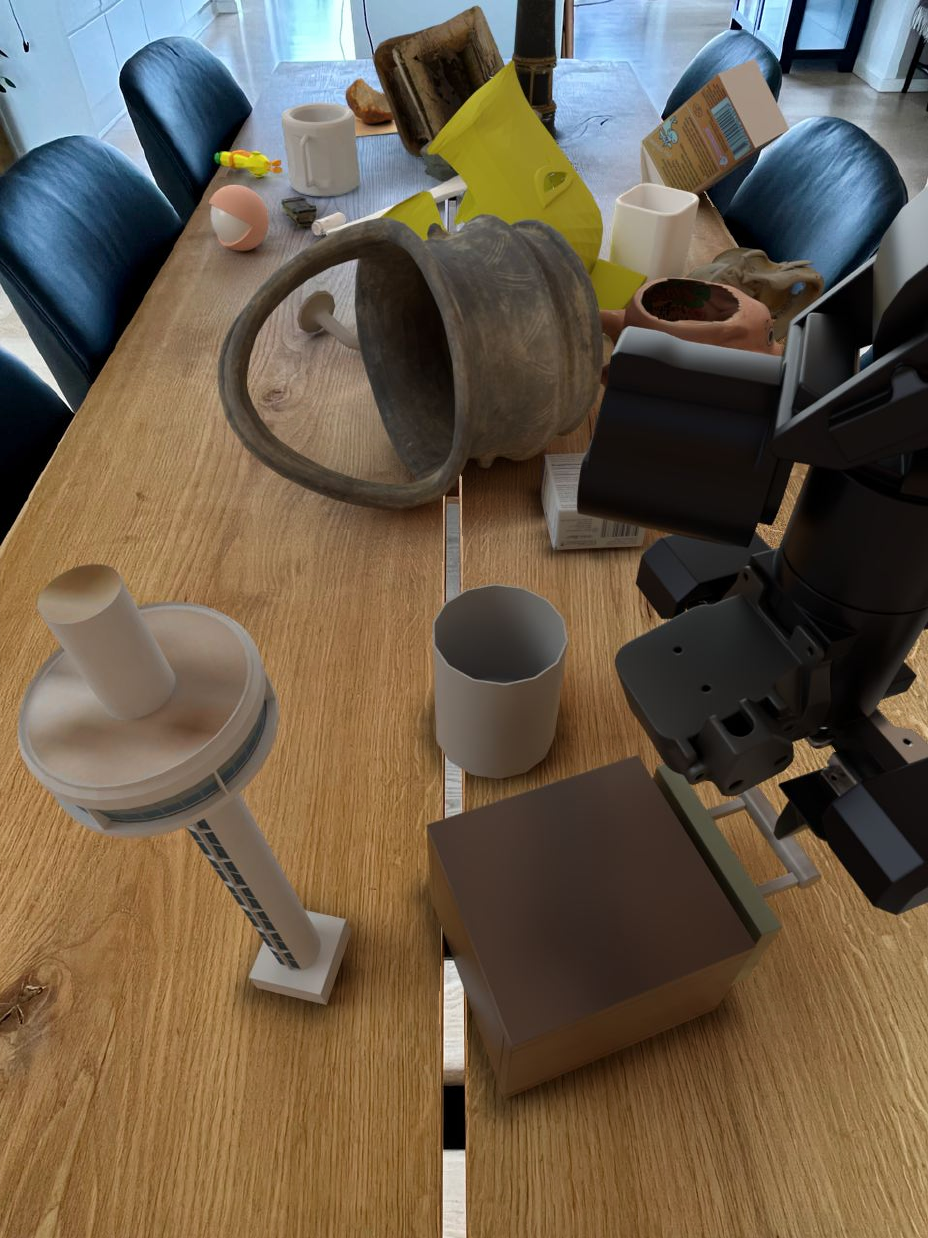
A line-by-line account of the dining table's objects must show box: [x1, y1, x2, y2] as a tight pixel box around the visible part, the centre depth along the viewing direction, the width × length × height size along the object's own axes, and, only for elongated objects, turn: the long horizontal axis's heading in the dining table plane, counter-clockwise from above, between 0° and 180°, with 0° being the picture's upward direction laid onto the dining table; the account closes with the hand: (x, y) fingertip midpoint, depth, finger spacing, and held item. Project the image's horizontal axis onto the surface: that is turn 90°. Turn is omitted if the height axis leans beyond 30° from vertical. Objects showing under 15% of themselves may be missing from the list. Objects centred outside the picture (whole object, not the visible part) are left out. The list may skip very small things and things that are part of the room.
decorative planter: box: [599, 277, 784, 388], centre depth 79 cm, size 20×12×14 cm, turn 87°
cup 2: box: [608, 183, 700, 285], centre depth 92 cm, size 7×7×15 cm
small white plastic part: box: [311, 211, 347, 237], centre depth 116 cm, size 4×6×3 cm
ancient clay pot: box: [216, 214, 604, 511], centre depth 72 cm, size 22×23×30 cm
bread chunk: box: [345, 77, 398, 137], centre depth 149 cm, size 15×11×11 cm
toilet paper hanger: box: [296, 289, 361, 352], centre depth 99 cm, size 25×8×5 cm, turn 134°
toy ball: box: [208, 184, 270, 252], centre depth 111 cm, size 8×8×8 cm
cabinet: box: [425, 754, 756, 1100], centre depth 45 cm, size 13×12×9 cm
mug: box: [280, 102, 361, 197], centre depth 125 cm, size 14×11×10 cm
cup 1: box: [432, 583, 569, 780], centre depth 55 cm, size 8×8×10 cm
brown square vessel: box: [371, 5, 506, 159], centre depth 138 cm, size 22×24×20 cm
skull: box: [685, 247, 825, 343], centre depth 91 cm, size 12×18×12 cm
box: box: [540, 452, 647, 551], centre depth 72 cm, size 8×4×9 cm
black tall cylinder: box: [511, 0, 558, 139], centre depth 136 cm, size 9×9×30 cm
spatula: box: [325, 175, 467, 236], centre depth 121 cm, size 28×4×2 cm, turn 137°
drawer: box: [652, 763, 823, 986], centre depth 46 cm, size 16×10×7 cm, turn 111°
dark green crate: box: [280, 196, 318, 228], centre depth 119 cm, size 4×8×2 cm, turn 25°
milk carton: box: [639, 58, 790, 196], centre depth 122 cm, size 11×11×19 cm
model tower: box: [17, 563, 352, 1006], centre depth 36 cm, size 8×8×30 cm
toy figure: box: [214, 149, 283, 179], centre depth 132 cm, size 7×4×12 cm
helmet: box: [380, 59, 647, 335], centre depth 89 cm, size 16×23×30 cm
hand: (752, 790), depth 41 cm, fingers open, 5 cm apart
